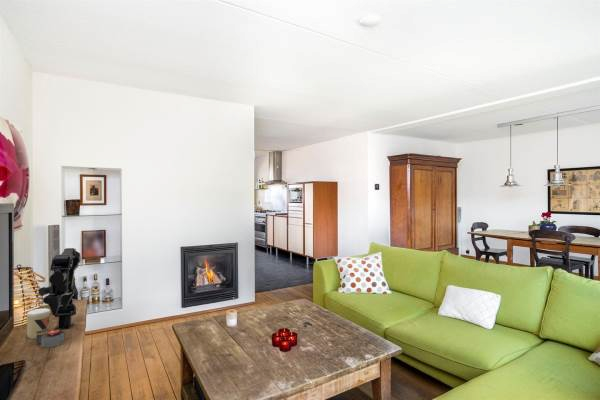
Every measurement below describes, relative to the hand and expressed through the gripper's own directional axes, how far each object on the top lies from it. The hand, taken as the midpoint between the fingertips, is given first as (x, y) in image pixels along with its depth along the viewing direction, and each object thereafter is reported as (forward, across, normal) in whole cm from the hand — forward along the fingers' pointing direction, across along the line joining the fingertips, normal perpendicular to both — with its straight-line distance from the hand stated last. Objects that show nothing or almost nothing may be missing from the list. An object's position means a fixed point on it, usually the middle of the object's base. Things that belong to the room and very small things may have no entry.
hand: (59, 311), depth 161 cm
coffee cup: (+13, -4, -11) cm, 17 cm away
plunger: (+12, +7, +1) cm, 14 cm away
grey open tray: (+13, +7, 0) cm, 15 cm away
